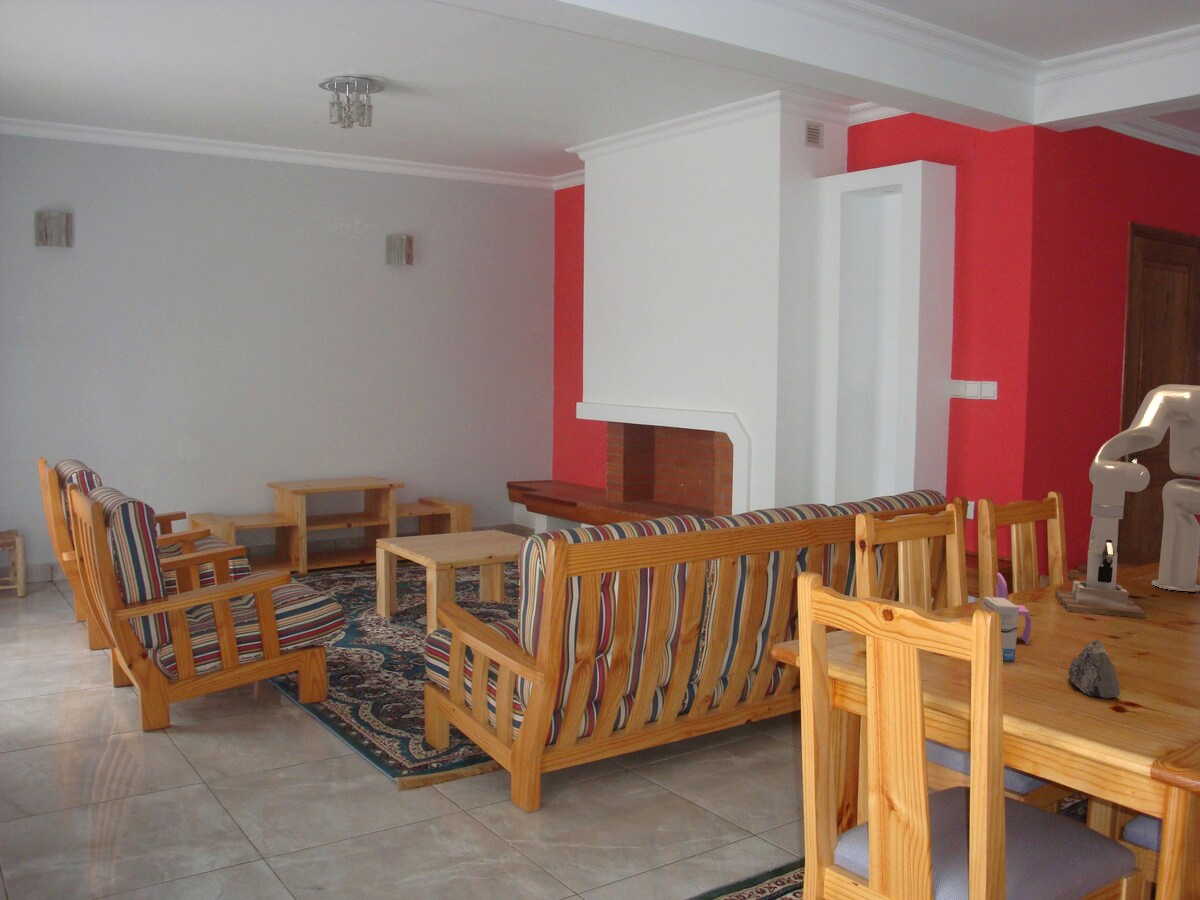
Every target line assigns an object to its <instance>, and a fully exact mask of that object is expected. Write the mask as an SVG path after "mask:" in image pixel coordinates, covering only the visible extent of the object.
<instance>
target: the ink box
mask: <svg viewBox="0 0 1200 900" xmlns="http://www.w3.org/2000/svg"><path fill="white" fill-rule="evenodd" d="M1016 605H1017V604H1014V603H1013V602H1011V601H1010V600H1008V598H1007V599H1005V598H997V596H996V597H995V596H993V597H992V596H983V598H982V609H984V610H989V611H996V612H998V613H999V615H1000V617H1001V632H1002V649H1003V660H1002V661H1005V662H1006V661H1009V662H1010V661H1012V662H1015V661H1016V652H1017V651H1016V649H1017V638H1018V636H1017V635H1018V623H1019V615H1018V614H1019V607H1017V606H1016ZM982 609H981V610H982Z"/></svg>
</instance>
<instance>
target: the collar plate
mask: <svg viewBox="0 0 1200 900" xmlns="http://www.w3.org/2000/svg"><path fill="white" fill-rule="evenodd" d="M1086 584H1087V581H1081V580H1072V589H1071V591H1063V590H1062V591H1061V590H1055V595H1056V596H1055V595H1054V596H1055V597H1057V598H1058V599H1059V600H1060V601H1061V603H1062V604H1063V605H1064V606H1065V607H1064V606H1063V605H1062V604H1061V603H1060V604H1061V605H1062V606H1063V607H1064V609H1065V608H1066V609H1067V610H1069V611H1079V612H1089V613H1098V614H1097V615H1100V614H1106V615H1105V616H1110V615H1117V616H1116V617H1121V616H1128V617H1127V618H1131V617H1136V618H1135V619H1142V618H1145V619H1146V614H1147V613H1146V612H1145V611H1144V610H1143V609H1142V608H1141V607H1140V606H1139V605H1138V604H1136V603H1135V601H1133V599H1130V598H1129V591H1128V590H1126V589H1125V588H1124V587H1123V586H1122V585H1121V584H1117V583H1116V589H1115V590H1107V589H1095V588H1086ZM1057 598H1056V599H1057ZM1058 599H1057V600H1058ZM1059 600H1058V601H1059ZM1060 601H1059V602H1060ZM1066 609H1065V610H1066ZM1067 610H1066V611H1067ZM1089 613H1088V614H1089Z"/></svg>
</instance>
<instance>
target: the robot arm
mask: <svg viewBox="0 0 1200 900" xmlns="http://www.w3.org/2000/svg"><path fill="white" fill-rule="evenodd" d="M1168 429H1169V468H1170V469H1171V471H1172V472H1173V473H1175V474H1178V475H1181V476H1190V477H1199V478H1200V385H1191V384H1175V383H1174V384H1173V383H1170V384H1169V383H1167V384H1162V385H1159V386H1157V387H1156V388H1154V389H1151V390H1150V391H1148V392H1147V394H1145V397H1144V399H1143V401H1142V402H1141V404H1140V406H1139V408H1138V410H1137V412H1136V414H1135V416H1134V418H1133V420H1132V422H1131V423H1130V426H1129V427H1128V428H1127V429H1125V430H1123V431H1121V432H1119V433H1118V434H1116V435H1115V436H1112V438H1110V439H1108V440H1106V441H1105V442H1104V443H1103V444H1102V445H1101V447H1100V448H1099V449H1098V451H1097V453H1096V455H1095V457H1094V458H1093V460H1092V462H1091V465H1090V467H1089V473H1088V476H1089V481H1090V482H1091V484H1092V485H1093V486H1092V494H1091V495H1092V496H1091V507H1090V508H1091V509H1090V516H1091V517H1093V518H1092V520H1091V521H1092V522H1091V527H1090V534H1089V542H1088V550H1092V553H1094V554H1095V555H1096V556H1098V555H1099V554H1100V566H1099V569H1098V581H1099V582H1106V583H1111V581H1112V570H1113V557H1114V556H1115V555H1116V552H1117V551H1118V540H1119V539H1118V538H1119V520H1122V519H1124V508H1125V497H1126V496H1125V495H1126V492H1130V493H1137V492H1141V491H1143V490H1145V489H1146V488H1147V487H1148V485H1149V483H1150V480H1151V474H1150V471H1149V470H1148V468H1147V467H1146V466H1145V465H1142V464H1140V463H1135V462H1127V461H1126V462H1125V461H1117V460H1118V459H1120V458H1122V457H1123V456H1126V455H1128V454H1132V453H1137V452H1140V451H1144V450H1147V449H1151V448H1154V447H1157V446H1158V445H1159V444H1161V443H1162V442H1163V440H1164V437H1165V435H1166V433H1167V431H1168ZM1161 496H1162V504H1163V505H1162V506H1163V523H1162V524H1163V525H1162V534H1161V535H1162V536H1161V537H1162V538H1161V544H1160V545H1161V547H1160V555H1159V556H1160V559H1159V567H1158V579H1153V580H1151V585H1152V586H1153V585H1154V586H1153V587H1155V586H1157V587H1159V588H1158V589H1161V588H1163V589H1162V590H1165V589H1168V590H1167V591H1170V590H1177V591H1198V590H1200V585H1198V584H1197V574H1198V564H1199V555H1200V523H1199V522H1198V520H1197V517H1196V516H1195V515H1199V516H1200V480H1197V479H1188V478H1175V479H1172V480H1169V481H1167V482H1166V483H1165V484H1164V486H1163V487H1162V493H1161ZM1103 553H1107V555H1104V554H1103ZM1113 553H1114V554H1113ZM1103 558H1105V559H1104V561H1103ZM1157 587H1156V588H1157ZM1177 591H1176V592H1177Z"/></svg>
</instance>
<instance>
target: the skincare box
mask: <svg viewBox="0 0 1200 900" xmlns="http://www.w3.org/2000/svg"><path fill="white" fill-rule="evenodd" d="M1103 554H1104V555H1107V553H1103ZM1113 554H1114V553H1113ZM1104 559H1105V558H1103V561H1104ZM1086 566H1087V567H1086V568H1087V570H1086V582H1087V584H1086V588H1095V589H1107V590H1115V589H1116V584H1117V572H1118V571H1117V570H1118V569H1117V567H1118V552H1117V551H1116V555H1115V556H1114V557H1113V570H1112V581H1111V583H1106V582H1099V581H1098V569H1099V566H1100V554H1099V555H1098V556H1096V555H1095V554H1094V553H1092V550H1089V549H1088V550H1087V565H1086Z"/></svg>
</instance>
